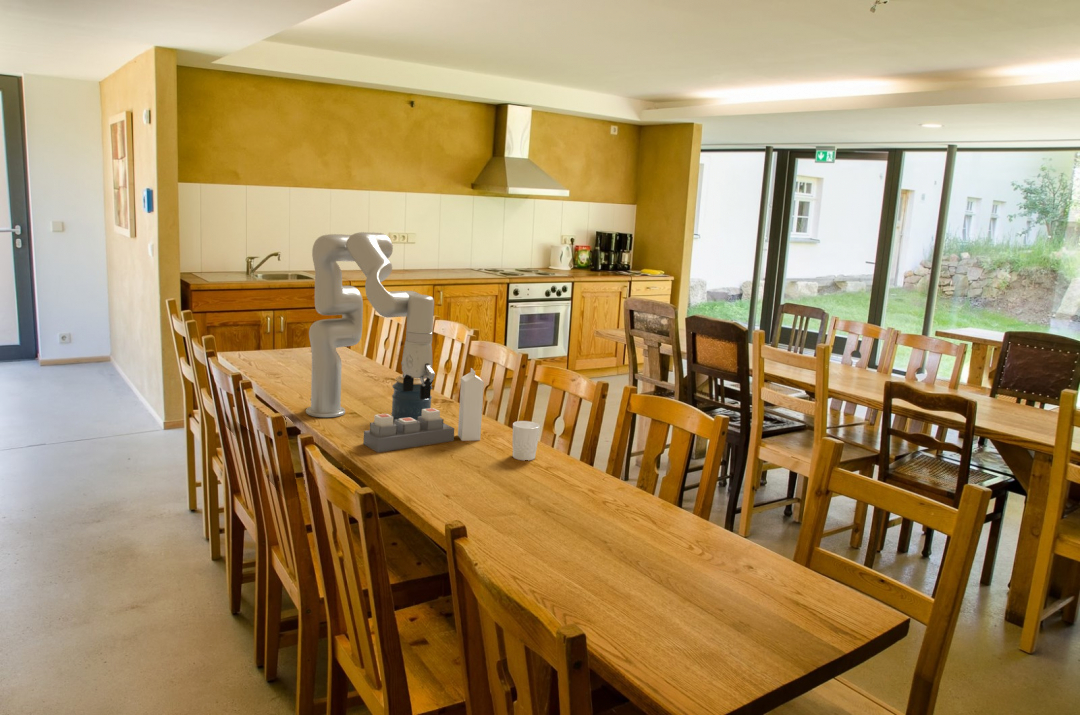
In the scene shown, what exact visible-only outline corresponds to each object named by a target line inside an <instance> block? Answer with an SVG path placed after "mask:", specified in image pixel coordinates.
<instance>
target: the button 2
mask: <svg viewBox="0 0 1080 715" xmlns="http://www.w3.org/2000/svg"><path fill="white" fill-rule="evenodd" d="M398 421H399V422H401V423H403V424H409V423H417V420H415V419H413V418H411V417H408V418H400V419H398Z"/></svg>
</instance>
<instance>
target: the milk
mask: <svg viewBox="0 0 1080 715" xmlns="http://www.w3.org/2000/svg"><path fill="white" fill-rule="evenodd" d="M484 384H485V382H484V380H482V379H481V377H480V376H478V375H476V371H475V370H474V368H472V367H470V372H468V373H467V374H465V375H463V376H462V377H460V393H459V410H458V427H457V436H458V437H459V438H460V441H462V442H463V441H465V442H466V441H469V442H470V441H471V442H472V441H481V436H482V435H481V434H482V433H481V432H482V419H483V418H482V417H483V401H484V388H485V387H484Z"/></svg>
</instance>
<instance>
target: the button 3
mask: <svg viewBox="0 0 1080 715" xmlns="http://www.w3.org/2000/svg"><path fill="white" fill-rule="evenodd" d="M421 418H423V419H425V420H427V421H432V420H439V419H440V418H441V411H440V410H438V409H436V408H434V407H431V408H428V409H422V417H421Z"/></svg>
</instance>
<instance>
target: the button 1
mask: <svg viewBox="0 0 1080 715" xmlns="http://www.w3.org/2000/svg"><path fill="white" fill-rule="evenodd" d="M373 420H374V424H375V425H376V426H378V427H387V426H393V424H394V422H393V416H391V414H389V413H381V414H380V413H379V414H374V419H373Z"/></svg>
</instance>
